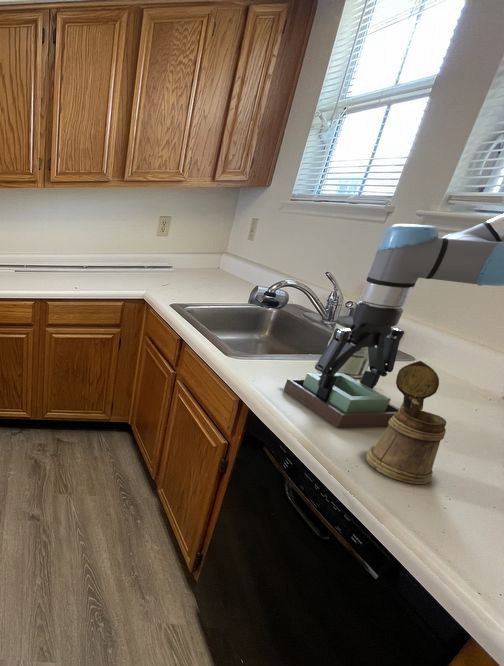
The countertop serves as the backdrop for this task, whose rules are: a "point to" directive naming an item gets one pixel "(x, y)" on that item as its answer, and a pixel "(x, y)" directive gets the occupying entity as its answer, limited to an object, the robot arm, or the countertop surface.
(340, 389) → the frame
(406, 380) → the wooden mug
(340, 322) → the coffee can
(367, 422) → the tray
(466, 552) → the countertop surface
